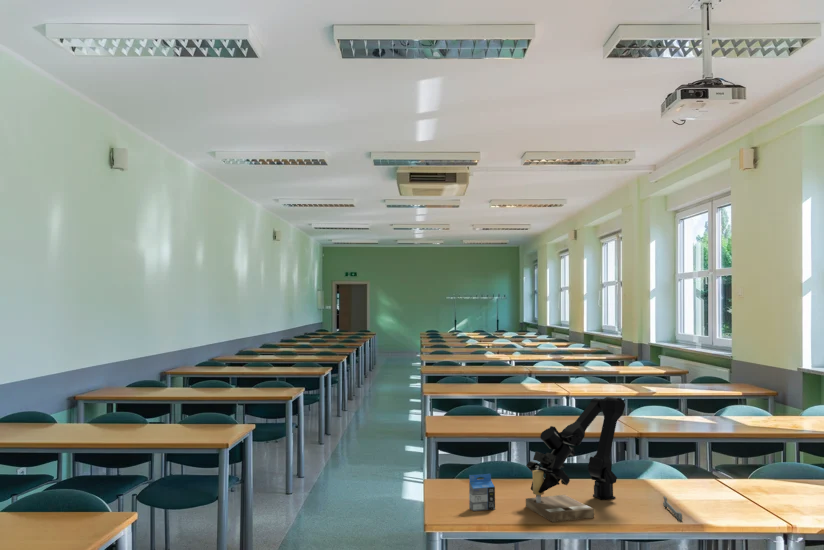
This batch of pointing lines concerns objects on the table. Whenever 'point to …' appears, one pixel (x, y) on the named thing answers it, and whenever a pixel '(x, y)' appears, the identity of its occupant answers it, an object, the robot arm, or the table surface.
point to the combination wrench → (672, 509)
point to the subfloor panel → (560, 508)
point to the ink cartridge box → (481, 493)
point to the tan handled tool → (538, 484)
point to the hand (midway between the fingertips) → (535, 491)
